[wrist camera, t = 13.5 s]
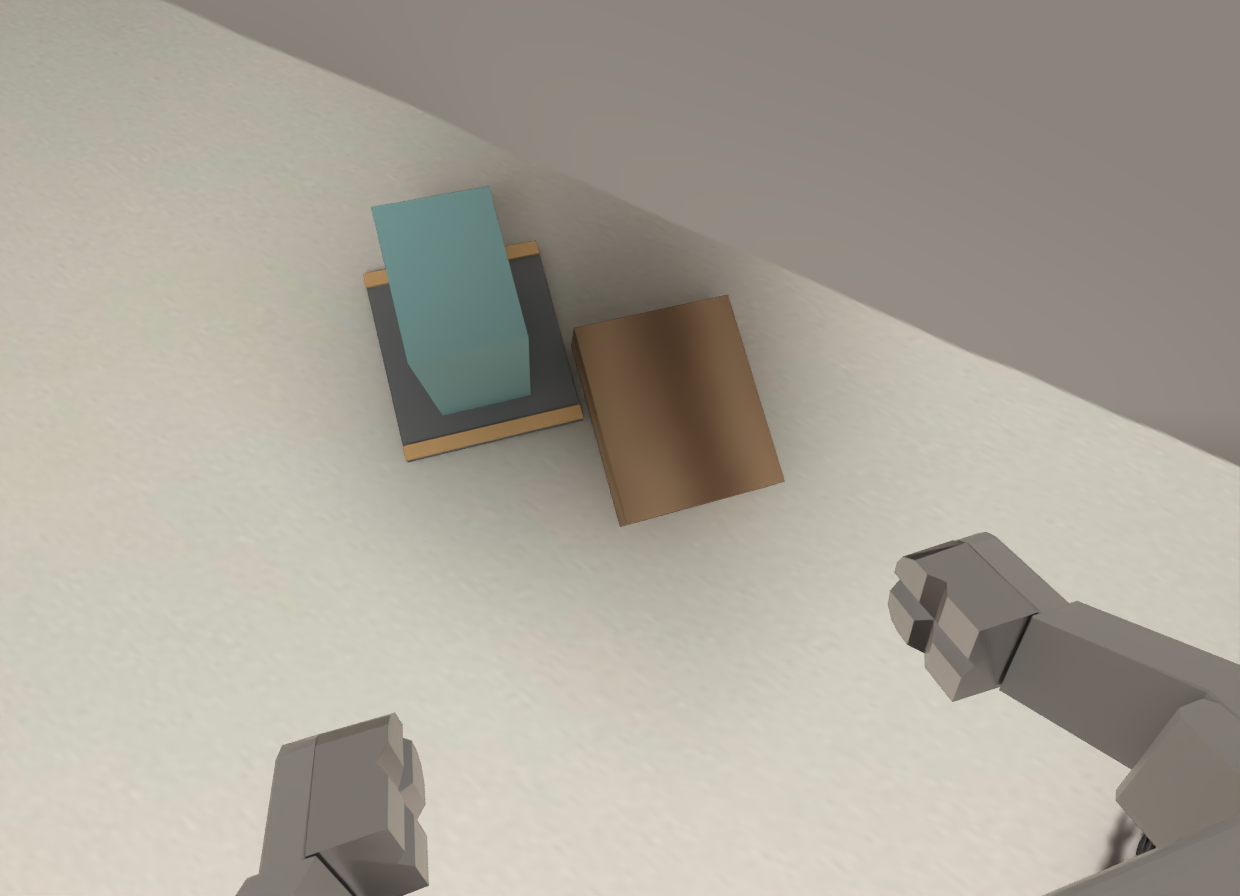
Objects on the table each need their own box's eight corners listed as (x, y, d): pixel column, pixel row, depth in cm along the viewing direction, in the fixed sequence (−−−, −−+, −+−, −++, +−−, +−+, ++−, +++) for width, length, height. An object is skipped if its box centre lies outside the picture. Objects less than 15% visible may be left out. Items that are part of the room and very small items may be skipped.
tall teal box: (442, 415, 36) (408, 363, 26) (414, 299, 37) (371, 207, 27) (530, 395, 37) (528, 337, 27) (501, 281, 38) (488, 186, 28)
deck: (620, 526, 37) (627, 524, 34) (571, 345, 38) (573, 327, 35) (765, 487, 38) (784, 481, 35) (713, 313, 40) (727, 294, 37)
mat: (408, 462, 36) (405, 460, 35) (366, 278, 37) (362, 273, 37) (582, 420, 38) (583, 417, 37) (535, 245, 39) (535, 240, 38)
